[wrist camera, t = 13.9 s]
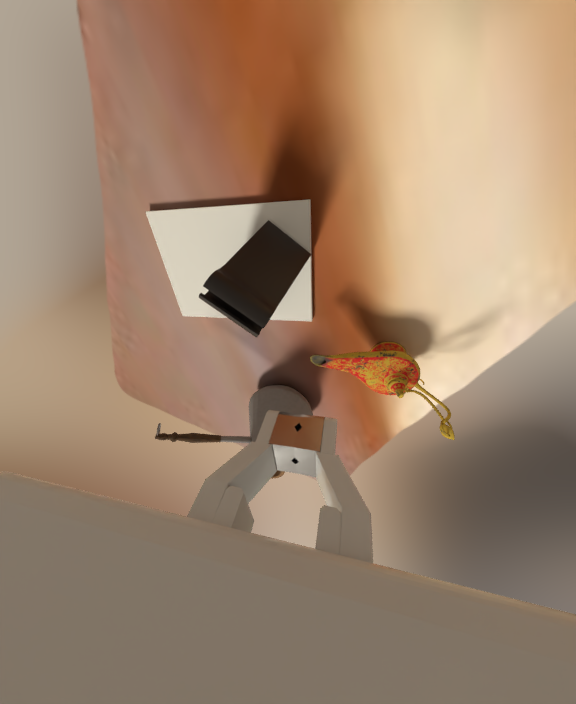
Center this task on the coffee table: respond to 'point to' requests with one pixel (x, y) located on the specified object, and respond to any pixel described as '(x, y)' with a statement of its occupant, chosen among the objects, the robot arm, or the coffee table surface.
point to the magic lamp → (385, 373)
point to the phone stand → (256, 278)
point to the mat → (228, 249)
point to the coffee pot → (254, 416)
